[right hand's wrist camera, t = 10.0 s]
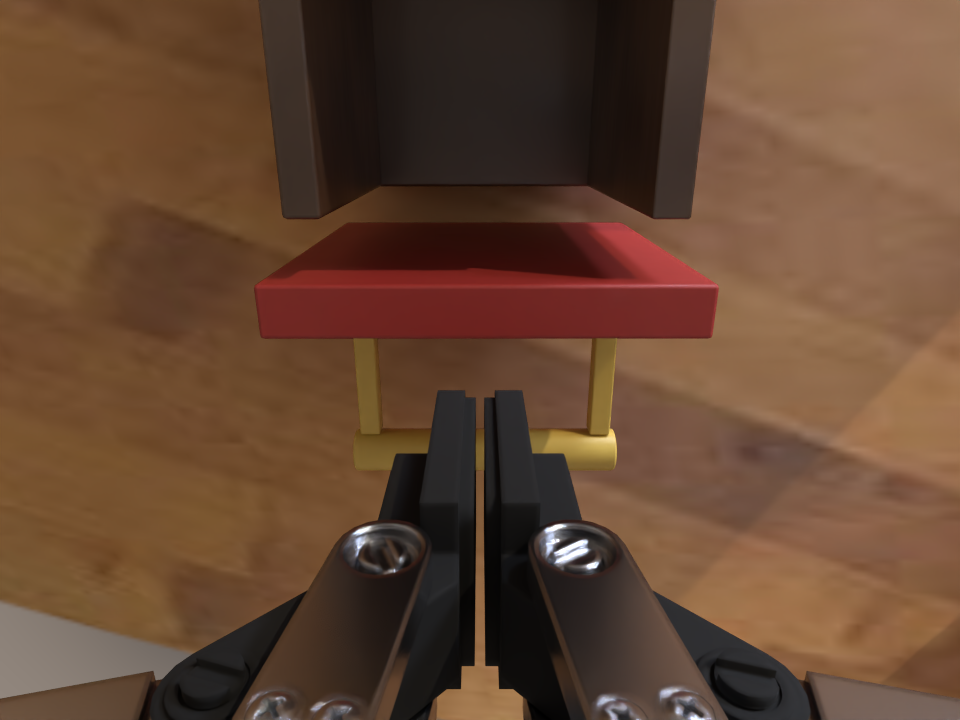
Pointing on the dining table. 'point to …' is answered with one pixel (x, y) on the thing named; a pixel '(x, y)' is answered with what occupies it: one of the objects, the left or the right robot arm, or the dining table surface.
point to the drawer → (486, 181)
